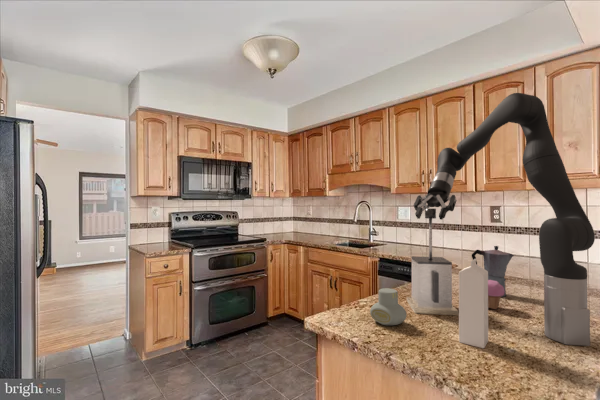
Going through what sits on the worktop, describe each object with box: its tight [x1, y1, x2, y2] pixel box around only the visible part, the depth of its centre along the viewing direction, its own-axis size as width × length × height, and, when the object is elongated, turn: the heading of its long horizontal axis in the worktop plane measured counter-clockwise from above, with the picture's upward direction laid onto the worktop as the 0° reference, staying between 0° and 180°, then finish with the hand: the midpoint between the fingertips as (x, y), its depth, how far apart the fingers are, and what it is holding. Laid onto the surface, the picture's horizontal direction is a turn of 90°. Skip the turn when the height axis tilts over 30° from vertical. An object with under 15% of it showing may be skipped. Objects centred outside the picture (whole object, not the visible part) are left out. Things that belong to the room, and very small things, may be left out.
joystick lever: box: [424, 208, 437, 260], centre depth 114 cm, size 9×9×24 cm
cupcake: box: [488, 280, 506, 310], centre depth 114 cm, size 9×9×10 cm
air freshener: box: [369, 287, 407, 327], centre depth 100 cm, size 11×8×10 cm
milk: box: [458, 258, 489, 349], centre depth 86 cm, size 6×6×22 cm
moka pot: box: [471, 245, 515, 298], centre depth 132 cm, size 10×15×20 cm, turn 78°
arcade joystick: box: [406, 256, 459, 316], centre depth 114 cm, size 14×14×17 cm
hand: (428, 217), depth 113 cm, fingers open, 7 cm apart
